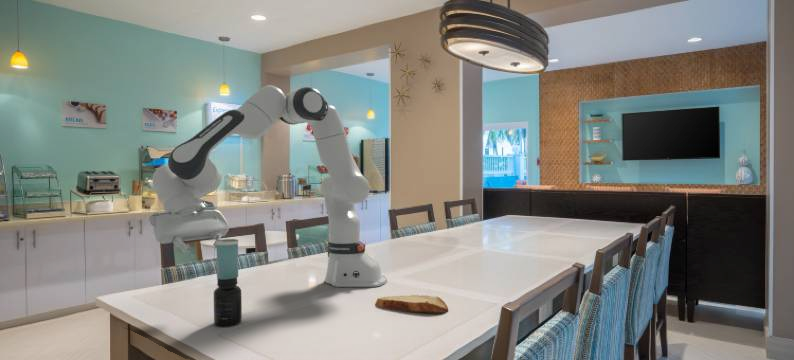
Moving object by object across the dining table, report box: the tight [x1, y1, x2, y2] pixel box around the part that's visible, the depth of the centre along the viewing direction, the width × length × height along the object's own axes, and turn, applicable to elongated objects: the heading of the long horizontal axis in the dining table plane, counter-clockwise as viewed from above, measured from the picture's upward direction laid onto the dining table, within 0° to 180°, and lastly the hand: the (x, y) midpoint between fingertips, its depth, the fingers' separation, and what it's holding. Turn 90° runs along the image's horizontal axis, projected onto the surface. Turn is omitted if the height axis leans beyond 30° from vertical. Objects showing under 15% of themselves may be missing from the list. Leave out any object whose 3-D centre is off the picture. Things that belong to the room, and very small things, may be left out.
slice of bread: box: [374, 294, 449, 314], centre depth 132 cm, size 18×18×4 cm
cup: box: [215, 238, 239, 279], centre depth 118 cm, size 5×5×10 cm
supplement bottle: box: [213, 277, 243, 328], centre depth 118 cm, size 7×7×12 cm
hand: (203, 249), depth 124 cm, fingers open, 8 cm apart
